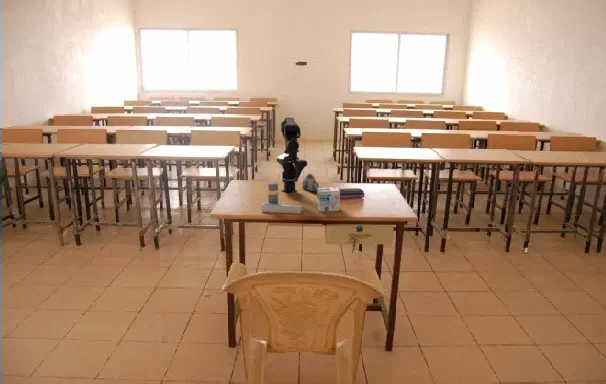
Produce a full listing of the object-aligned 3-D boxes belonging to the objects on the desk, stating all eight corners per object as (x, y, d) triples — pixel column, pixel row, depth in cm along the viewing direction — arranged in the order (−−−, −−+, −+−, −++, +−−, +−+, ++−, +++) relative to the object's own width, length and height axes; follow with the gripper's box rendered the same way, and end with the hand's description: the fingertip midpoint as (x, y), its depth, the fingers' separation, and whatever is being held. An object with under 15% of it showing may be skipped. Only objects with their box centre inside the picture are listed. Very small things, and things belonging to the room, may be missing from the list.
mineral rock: (319, 194, 260) (319, 177, 257) (300, 193, 260) (300, 176, 258) (320, 188, 272) (320, 171, 269) (302, 187, 273) (302, 171, 270)
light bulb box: (319, 212, 229) (319, 191, 226) (316, 207, 235) (316, 187, 232) (340, 210, 231) (340, 190, 228) (336, 206, 237) (337, 186, 234)
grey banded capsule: (266, 207, 235) (266, 183, 232) (276, 206, 237) (276, 182, 234) (270, 210, 231) (270, 185, 227) (280, 209, 233) (279, 184, 229)
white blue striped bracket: (261, 211, 229) (261, 203, 228) (263, 209, 233) (263, 201, 231) (300, 213, 226) (300, 205, 225) (301, 210, 230) (301, 203, 229)
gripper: (268, 147, 241) (269, 176, 246) (291, 152, 228) (291, 182, 232) (285, 145, 249) (285, 172, 253) (308, 149, 235) (307, 179, 239)
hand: (291, 176), depth 244 cm, fingers open, 9 cm apart
